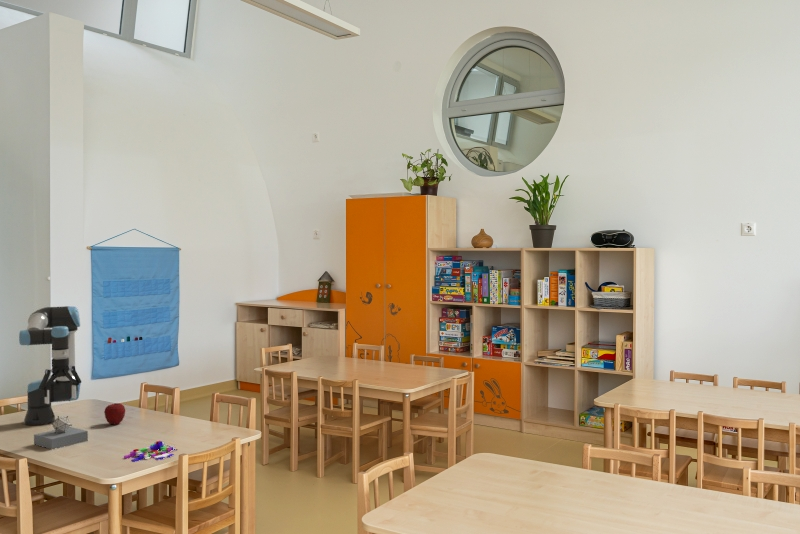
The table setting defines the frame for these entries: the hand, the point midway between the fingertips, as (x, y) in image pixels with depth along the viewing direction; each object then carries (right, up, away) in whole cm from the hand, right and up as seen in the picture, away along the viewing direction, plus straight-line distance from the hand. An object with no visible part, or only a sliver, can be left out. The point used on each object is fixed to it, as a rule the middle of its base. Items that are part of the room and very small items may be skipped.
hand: (60, 400), depth 322 cm
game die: (0, -16, 0) cm, 16 cm away
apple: (+10, -21, +37) cm, 44 cm away
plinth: (0, -21, 0) cm, 21 cm away
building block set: (+54, -21, -20) cm, 62 cm away
